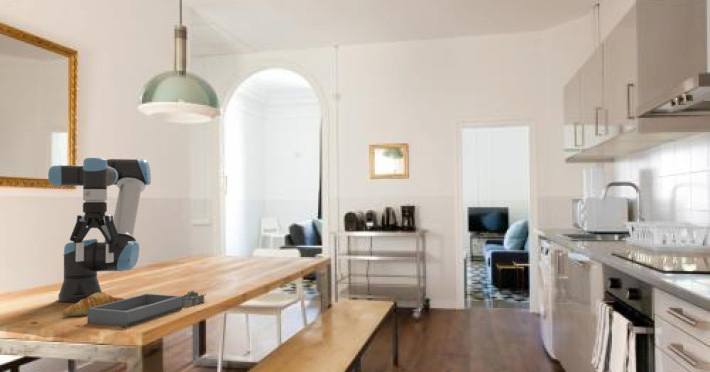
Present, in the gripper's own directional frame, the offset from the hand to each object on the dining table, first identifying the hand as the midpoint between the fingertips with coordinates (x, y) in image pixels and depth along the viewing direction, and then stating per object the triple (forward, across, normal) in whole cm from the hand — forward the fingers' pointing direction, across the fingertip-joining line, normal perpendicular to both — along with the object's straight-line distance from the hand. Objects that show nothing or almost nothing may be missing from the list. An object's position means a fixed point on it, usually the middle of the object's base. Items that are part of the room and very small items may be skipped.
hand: (94, 261), depth 173 cm
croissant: (+18, 0, 0) cm, 18 cm away
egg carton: (+18, +24, +22) cm, 37 cm away
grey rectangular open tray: (+18, +19, 0) cm, 26 cm away
